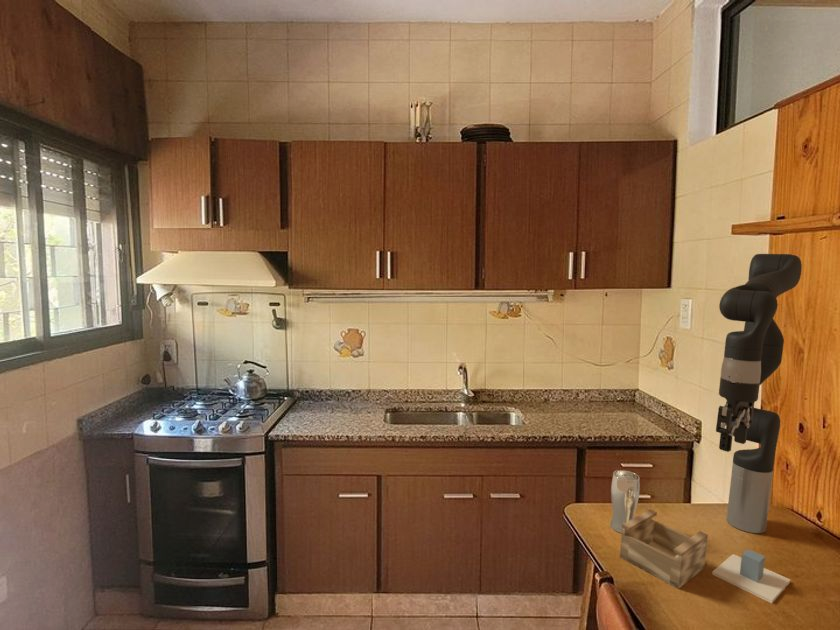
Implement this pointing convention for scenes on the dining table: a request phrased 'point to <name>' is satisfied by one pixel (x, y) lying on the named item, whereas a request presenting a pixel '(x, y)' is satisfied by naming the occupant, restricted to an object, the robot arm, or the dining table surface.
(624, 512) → the beer glass
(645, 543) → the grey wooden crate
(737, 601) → the dining table surface
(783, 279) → the robot arm
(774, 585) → the cover plate
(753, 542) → the dining table surface
